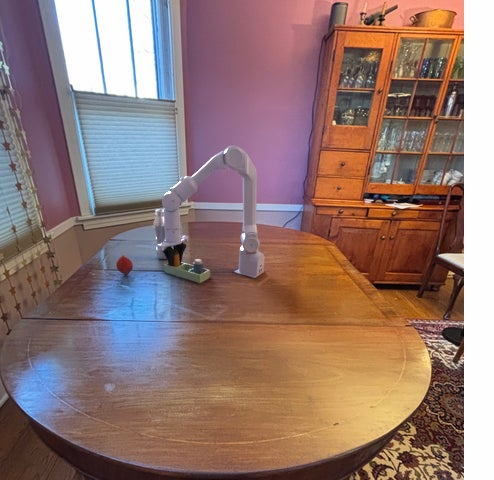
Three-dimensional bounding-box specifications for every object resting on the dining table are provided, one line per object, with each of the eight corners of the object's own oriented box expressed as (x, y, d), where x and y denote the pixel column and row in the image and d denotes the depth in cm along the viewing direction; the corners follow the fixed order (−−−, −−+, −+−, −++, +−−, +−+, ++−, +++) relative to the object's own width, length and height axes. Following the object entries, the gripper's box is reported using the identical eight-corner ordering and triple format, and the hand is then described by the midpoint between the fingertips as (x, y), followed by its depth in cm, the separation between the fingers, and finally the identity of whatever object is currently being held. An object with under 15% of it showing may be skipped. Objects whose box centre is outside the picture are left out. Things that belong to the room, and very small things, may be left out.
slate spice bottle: (205, 277, 111) (205, 259, 107) (199, 280, 108) (198, 262, 105) (197, 275, 113) (197, 257, 109) (191, 278, 110) (190, 260, 106)
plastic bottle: (173, 255, 132) (170, 208, 121) (169, 261, 126) (165, 212, 115) (159, 255, 132) (154, 208, 121) (154, 260, 126) (149, 211, 116)
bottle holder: (210, 278, 112) (210, 269, 110) (200, 284, 107) (199, 275, 105) (174, 268, 119) (174, 259, 118) (164, 273, 115) (163, 264, 113)
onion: (114, 275, 112) (111, 255, 107) (125, 270, 116) (122, 250, 112) (126, 279, 109) (123, 258, 105) (137, 273, 114) (134, 253, 110)
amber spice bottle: (181, 268, 116) (180, 250, 112) (175, 271, 113) (174, 253, 109) (174, 266, 117) (173, 248, 113) (168, 269, 115) (167, 251, 111)
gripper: (177, 222, 114) (179, 256, 121) (150, 230, 103) (154, 267, 111) (192, 225, 111) (193, 260, 118) (165, 234, 100) (168, 271, 107)
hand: (175, 263), depth 114 cm, fingers closed on amber spice bottle, 3 cm apart
